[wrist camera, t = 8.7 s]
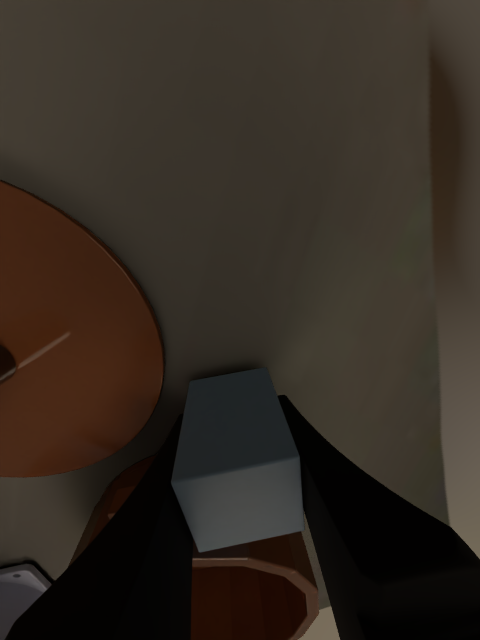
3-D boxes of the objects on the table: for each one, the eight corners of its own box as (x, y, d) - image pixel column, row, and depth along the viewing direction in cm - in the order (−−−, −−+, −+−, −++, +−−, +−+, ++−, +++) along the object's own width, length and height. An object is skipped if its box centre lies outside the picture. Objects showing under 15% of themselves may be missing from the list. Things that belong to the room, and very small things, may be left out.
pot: (144, 594, 20) (120, 714, 15) (42, 441, 13) (-69, 572, 8) (295, 560, 21) (321, 664, 16) (277, 395, 14) (314, 490, 9)
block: (205, 437, 13) (198, 554, 8) (189, 380, 11) (169, 483, 7) (273, 424, 13) (305, 531, 8) (266, 366, 11) (300, 457, 7)
